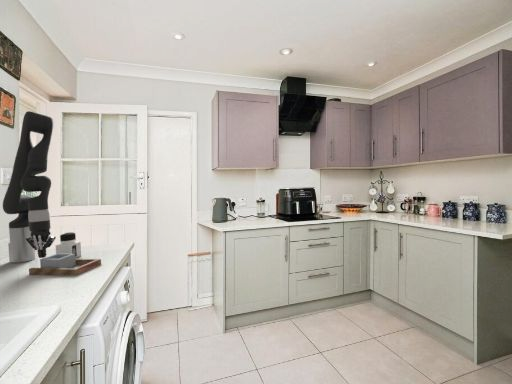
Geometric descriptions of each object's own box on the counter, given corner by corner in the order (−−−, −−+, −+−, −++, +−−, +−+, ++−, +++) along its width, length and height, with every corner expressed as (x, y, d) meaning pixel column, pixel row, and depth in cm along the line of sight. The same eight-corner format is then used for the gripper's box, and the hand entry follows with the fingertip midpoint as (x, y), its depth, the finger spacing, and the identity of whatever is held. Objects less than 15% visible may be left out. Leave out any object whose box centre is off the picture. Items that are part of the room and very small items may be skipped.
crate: (40, 272, 116) (40, 259, 116) (58, 266, 125) (57, 253, 125) (59, 273, 115) (58, 259, 115) (75, 266, 124) (75, 253, 124)
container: (81, 255, 142) (80, 231, 141) (70, 260, 134) (68, 234, 134) (68, 255, 143) (66, 231, 142) (55, 260, 135) (54, 234, 134)
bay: (29, 274, 114) (28, 268, 114) (58, 263, 129) (58, 258, 129) (76, 275, 111) (76, 269, 111) (101, 264, 126) (100, 258, 126)
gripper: (17, 221, 118) (21, 260, 119) (45, 220, 117) (49, 259, 118) (33, 219, 125) (36, 255, 126) (59, 218, 124) (62, 254, 125)
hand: (42, 257), depth 122 cm, fingers closed
